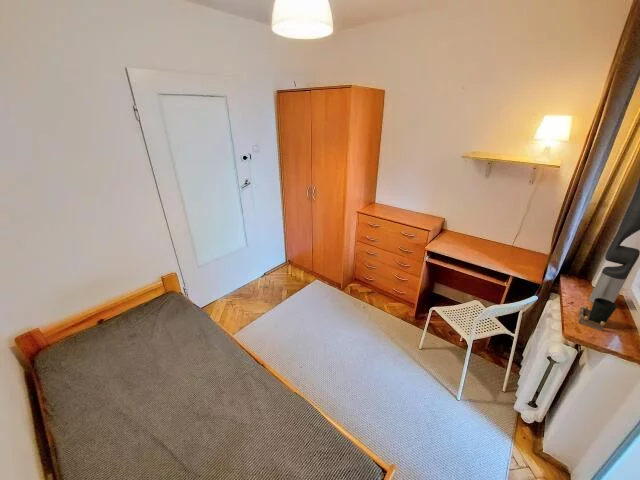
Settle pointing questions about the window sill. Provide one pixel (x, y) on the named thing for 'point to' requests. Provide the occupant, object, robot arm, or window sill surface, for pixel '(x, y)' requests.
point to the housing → (587, 322)
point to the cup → (601, 310)
